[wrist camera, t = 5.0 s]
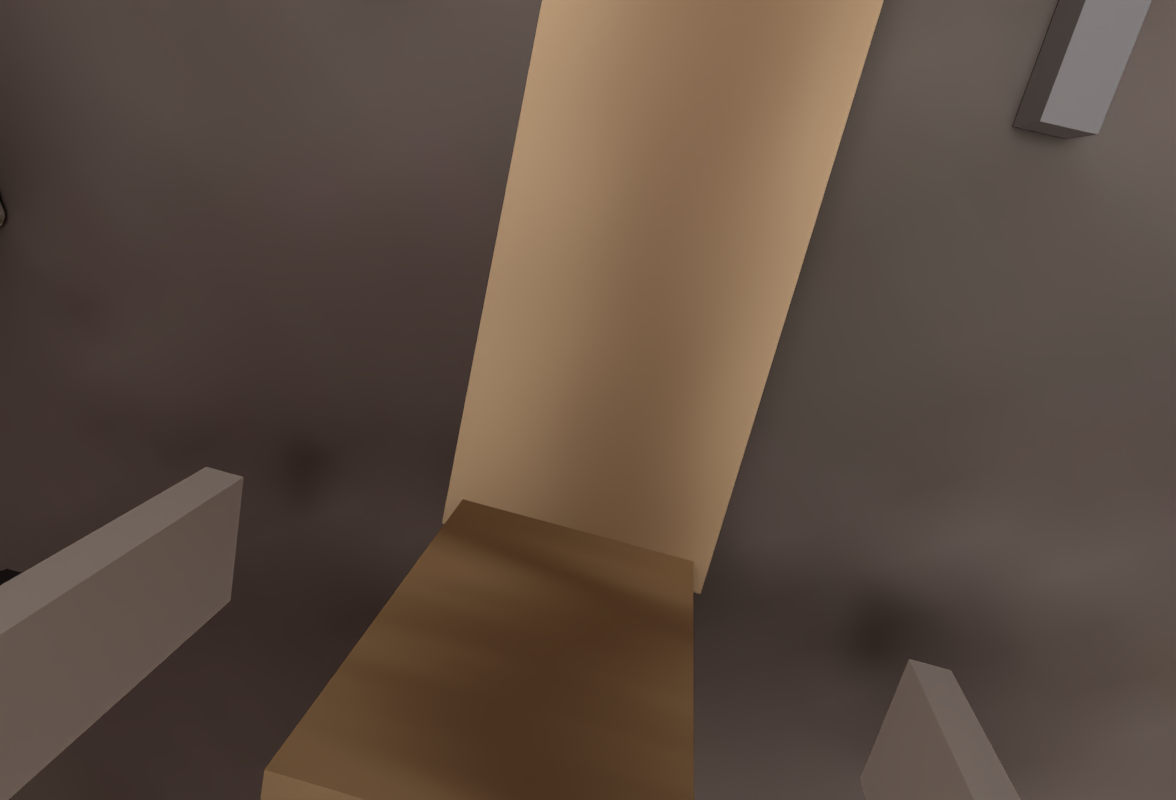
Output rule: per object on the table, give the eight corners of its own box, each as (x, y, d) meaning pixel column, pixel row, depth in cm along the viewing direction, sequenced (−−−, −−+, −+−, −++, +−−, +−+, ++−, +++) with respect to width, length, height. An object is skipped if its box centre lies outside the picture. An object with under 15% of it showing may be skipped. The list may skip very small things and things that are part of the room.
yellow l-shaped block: (459, 583, 18) (206, 1015, 9) (605, -133, 14) (421, -814, 4) (664, 640, 18) (634, 1151, 8) (877, -74, 14) (1302, -667, 4)
